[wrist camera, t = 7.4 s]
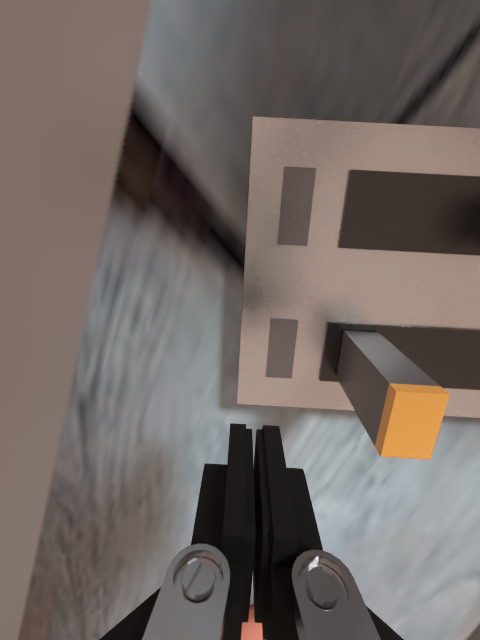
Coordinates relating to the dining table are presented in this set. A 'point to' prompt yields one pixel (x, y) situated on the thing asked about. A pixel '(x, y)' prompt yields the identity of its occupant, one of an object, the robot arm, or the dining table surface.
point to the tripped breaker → (391, 396)
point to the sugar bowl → (251, 628)
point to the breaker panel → (360, 256)
